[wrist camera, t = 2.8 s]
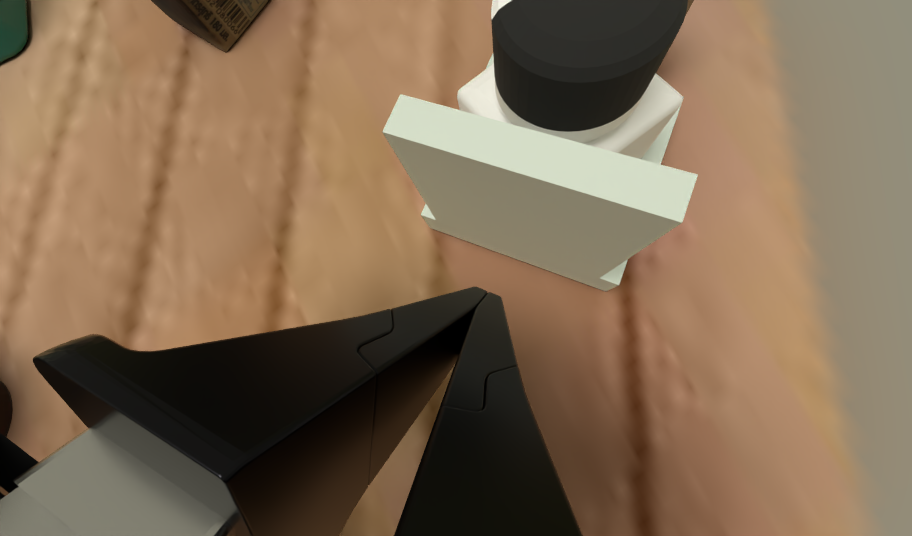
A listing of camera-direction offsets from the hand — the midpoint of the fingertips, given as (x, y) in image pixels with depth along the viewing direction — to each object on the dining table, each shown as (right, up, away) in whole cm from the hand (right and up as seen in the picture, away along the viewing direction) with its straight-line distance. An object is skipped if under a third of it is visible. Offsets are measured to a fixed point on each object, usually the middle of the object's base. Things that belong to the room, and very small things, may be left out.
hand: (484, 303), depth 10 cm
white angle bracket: (+5, +7, +12) cm, 15 cm away
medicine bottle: (+5, +7, +12) cm, 15 cm away
